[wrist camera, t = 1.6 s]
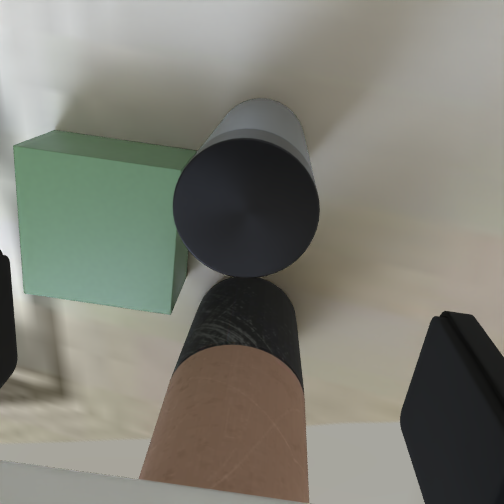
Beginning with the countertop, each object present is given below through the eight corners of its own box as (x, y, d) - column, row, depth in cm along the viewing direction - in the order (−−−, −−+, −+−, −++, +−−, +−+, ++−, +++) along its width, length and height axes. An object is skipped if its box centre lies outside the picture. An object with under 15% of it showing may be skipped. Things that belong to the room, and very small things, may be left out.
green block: (54, 129, 30) (12, 145, 25) (197, 150, 30) (181, 169, 25) (59, 259, 33) (23, 293, 29) (186, 277, 33) (170, 315, 29)
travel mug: (184, 348, 36) (81, 669, 17) (206, 259, 33) (107, 536, 14) (282, 373, 36) (282, 713, 18) (313, 287, 33) (351, 592, 15)
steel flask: (241, 81, 28) (210, 108, 16) (321, 125, 29) (348, 183, 17) (202, 161, 30) (149, 239, 18) (278, 201, 31) (274, 300, 19)
